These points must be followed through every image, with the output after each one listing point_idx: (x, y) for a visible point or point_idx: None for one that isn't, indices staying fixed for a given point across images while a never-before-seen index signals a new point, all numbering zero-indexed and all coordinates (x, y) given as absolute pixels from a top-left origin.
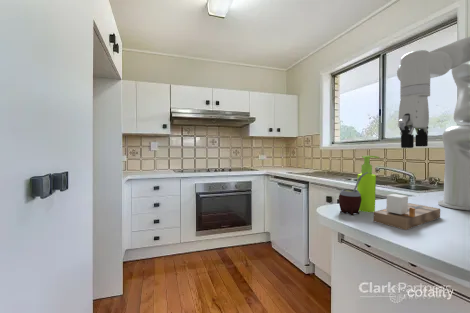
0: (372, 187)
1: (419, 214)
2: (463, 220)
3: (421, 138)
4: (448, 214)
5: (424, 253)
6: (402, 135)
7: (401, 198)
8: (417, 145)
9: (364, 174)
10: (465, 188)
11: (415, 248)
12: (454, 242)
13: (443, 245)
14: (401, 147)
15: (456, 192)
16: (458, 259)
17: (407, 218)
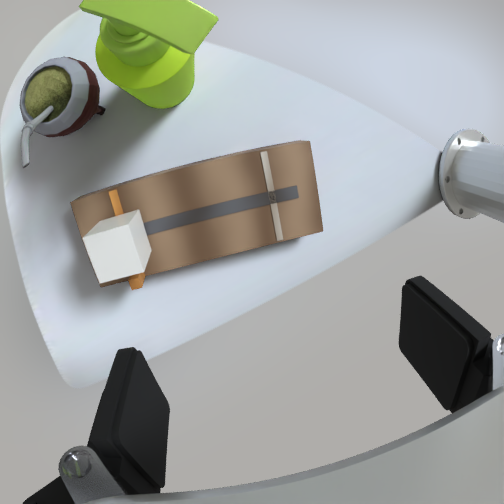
0: (146, 97)
1: (182, 262)
2: (340, 257)
3: (435, 363)
4: (371, 207)
5: (52, 356)
6: (98, 445)
7: (100, 281)
8: (404, 298)
9: (23, 152)
10: (491, 210)
11: (52, 342)
12: (142, 347)
13: (108, 349)
14: (121, 349)
15: (478, 188)
16: (84, 381)
17: (110, 282)
